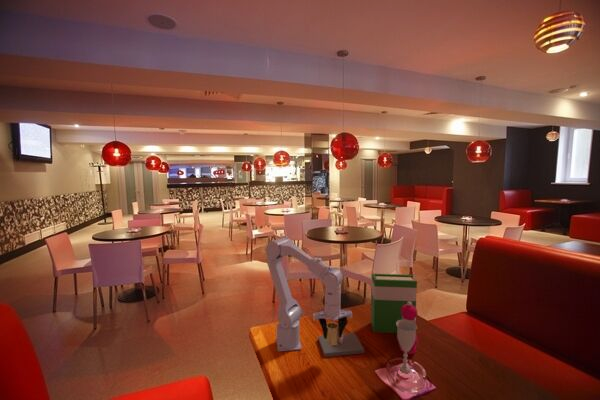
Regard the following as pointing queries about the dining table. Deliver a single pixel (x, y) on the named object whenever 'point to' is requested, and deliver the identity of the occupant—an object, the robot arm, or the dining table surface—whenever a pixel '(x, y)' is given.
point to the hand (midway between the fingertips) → (332, 336)
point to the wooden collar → (333, 333)
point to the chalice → (406, 340)
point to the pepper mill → (410, 314)
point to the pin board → (342, 346)
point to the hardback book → (390, 300)
